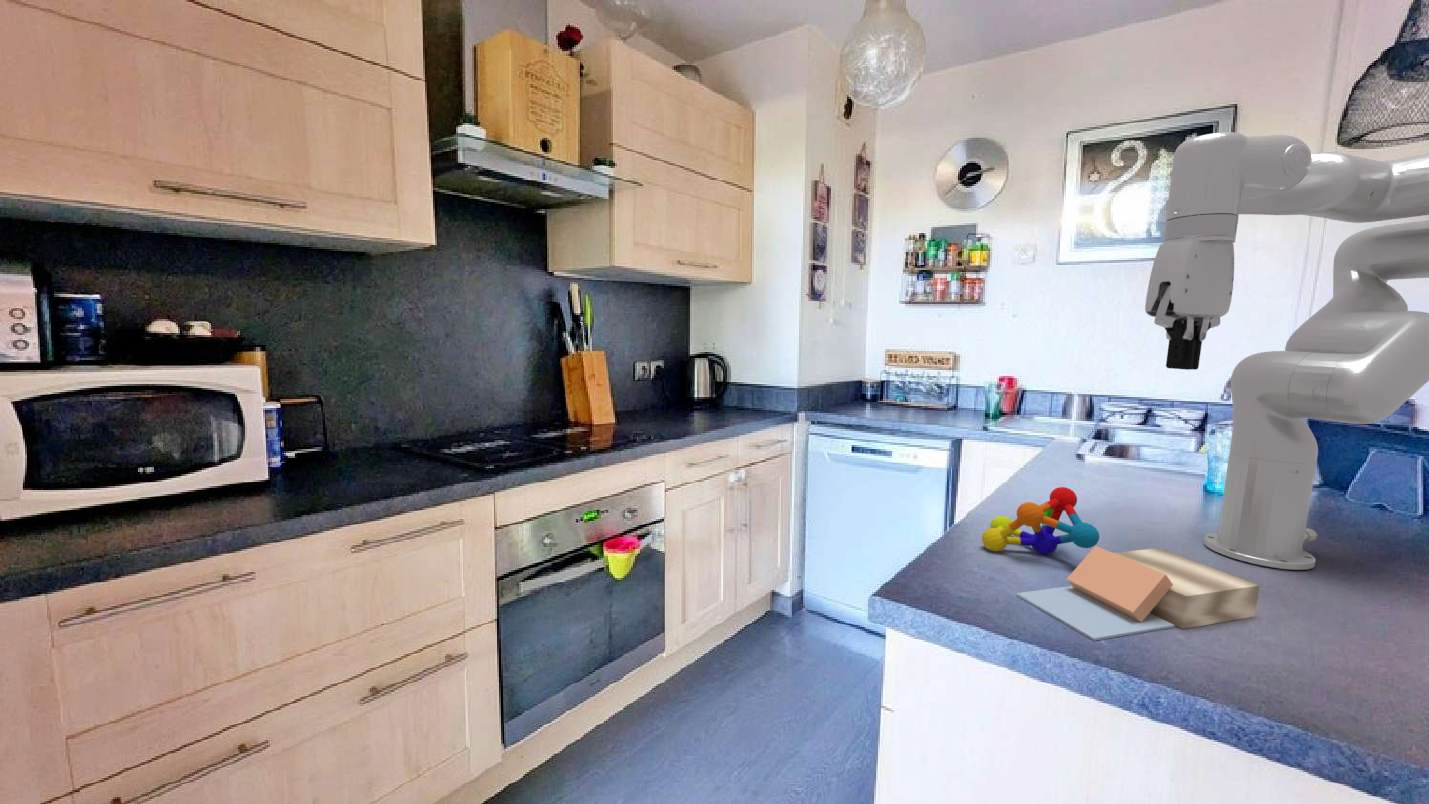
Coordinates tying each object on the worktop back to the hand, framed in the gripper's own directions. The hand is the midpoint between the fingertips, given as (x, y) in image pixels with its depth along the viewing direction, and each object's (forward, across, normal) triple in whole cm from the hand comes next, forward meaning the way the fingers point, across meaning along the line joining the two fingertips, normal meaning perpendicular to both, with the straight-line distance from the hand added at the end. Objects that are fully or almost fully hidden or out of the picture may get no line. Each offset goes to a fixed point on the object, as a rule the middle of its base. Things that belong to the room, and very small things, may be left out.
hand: (1181, 368), depth 79 cm
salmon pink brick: (+27, +17, +8) cm, 32 cm away
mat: (+29, +22, +8) cm, 37 cm away
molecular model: (+29, +13, -10) cm, 34 cm away
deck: (+29, +9, +8) cm, 31 cm away
